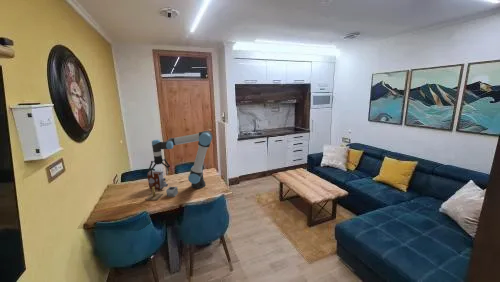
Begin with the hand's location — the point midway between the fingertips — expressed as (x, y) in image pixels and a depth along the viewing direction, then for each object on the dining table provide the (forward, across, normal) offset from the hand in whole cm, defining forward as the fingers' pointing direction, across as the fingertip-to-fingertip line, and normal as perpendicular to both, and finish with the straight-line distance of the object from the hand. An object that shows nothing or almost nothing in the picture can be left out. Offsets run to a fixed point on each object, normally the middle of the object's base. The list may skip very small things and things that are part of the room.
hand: (160, 175), depth 219 cm
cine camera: (+20, +3, -12) cm, 23 cm away
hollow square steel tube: (+20, -8, +9) cm, 23 cm away
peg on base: (+19, +8, +6) cm, 22 cm away
